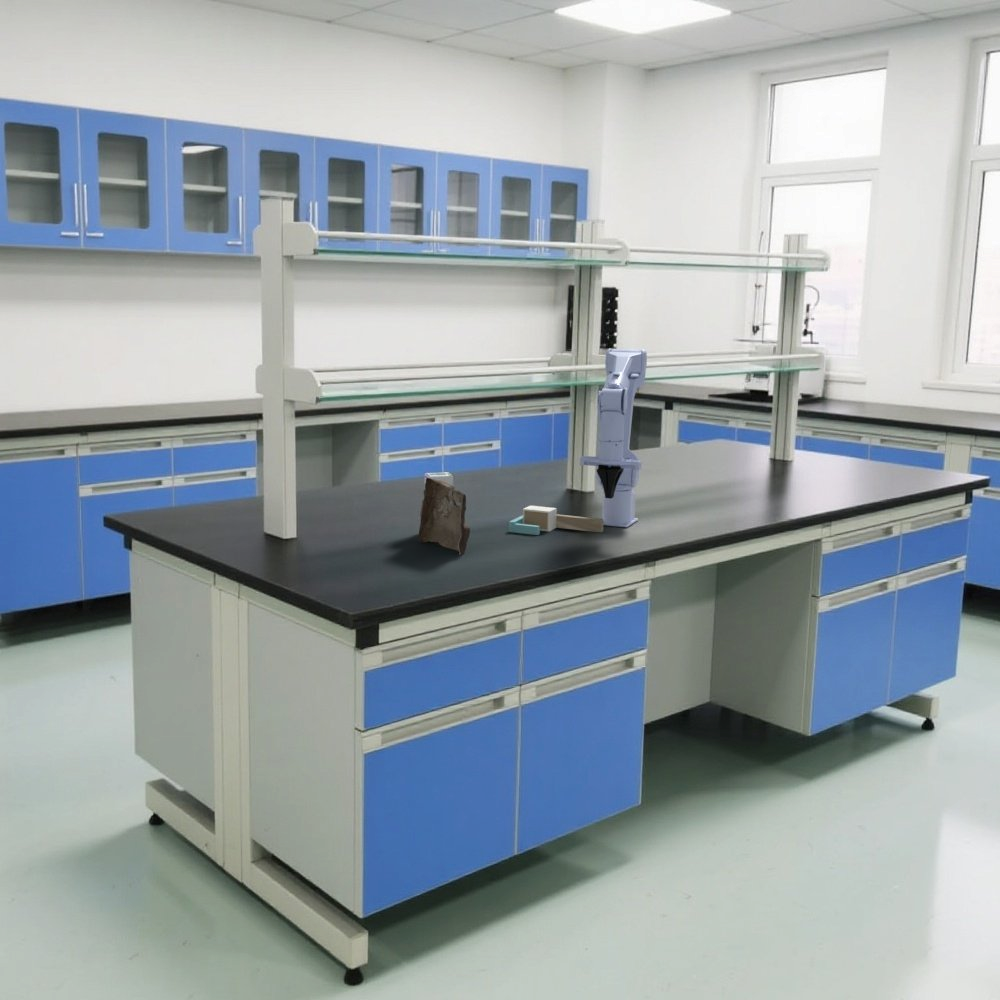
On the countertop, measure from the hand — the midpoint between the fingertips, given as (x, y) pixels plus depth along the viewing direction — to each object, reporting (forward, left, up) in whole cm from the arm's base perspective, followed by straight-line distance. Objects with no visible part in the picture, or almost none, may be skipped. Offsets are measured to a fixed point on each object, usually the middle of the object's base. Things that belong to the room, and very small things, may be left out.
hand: (609, 497), depth 259 cm
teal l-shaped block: (+2, -19, -9) cm, 21 cm away
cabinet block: (-1, -18, -10) cm, 21 cm away
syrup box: (+16, -37, -10) cm, 41 cm away
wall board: (-4, -13, -9) cm, 17 cm away
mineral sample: (+28, -29, -10) cm, 41 cm away
